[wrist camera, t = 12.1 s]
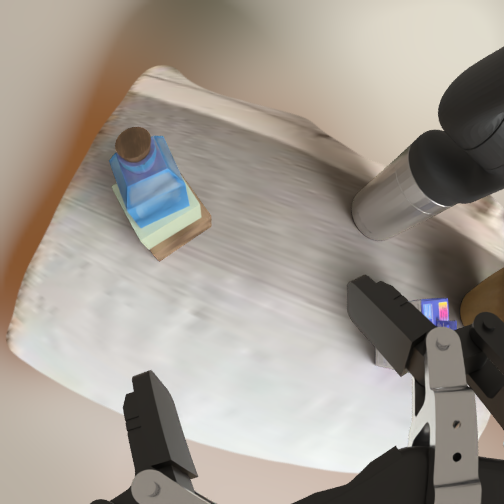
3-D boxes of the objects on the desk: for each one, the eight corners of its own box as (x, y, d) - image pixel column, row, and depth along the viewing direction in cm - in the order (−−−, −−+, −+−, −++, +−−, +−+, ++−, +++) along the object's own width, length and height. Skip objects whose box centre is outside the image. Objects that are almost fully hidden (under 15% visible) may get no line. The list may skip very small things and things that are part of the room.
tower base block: (178, 180, 47) (175, 165, 42) (211, 226, 46) (211, 215, 41) (128, 212, 45) (120, 201, 40) (159, 261, 44) (153, 255, 39)
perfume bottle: (123, 183, 35) (91, 131, 24) (169, 162, 37) (155, 102, 25) (140, 228, 35) (109, 188, 23) (189, 205, 36) (180, 155, 24)
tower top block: (171, 171, 42) (167, 153, 37) (201, 217, 41) (200, 204, 36) (121, 200, 40) (111, 186, 35) (148, 250, 39) (140, 240, 34)
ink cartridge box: (403, 362, 45) (462, 371, 31) (374, 367, 44) (430, 380, 30) (401, 302, 47) (461, 294, 33) (373, 305, 46) (429, 297, 32)
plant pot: (495, 280, 51) (553, 266, 35) (488, 352, 47) (548, 352, 32) (449, 263, 50) (512, 243, 34) (439, 345, 46) (506, 347, 31)
